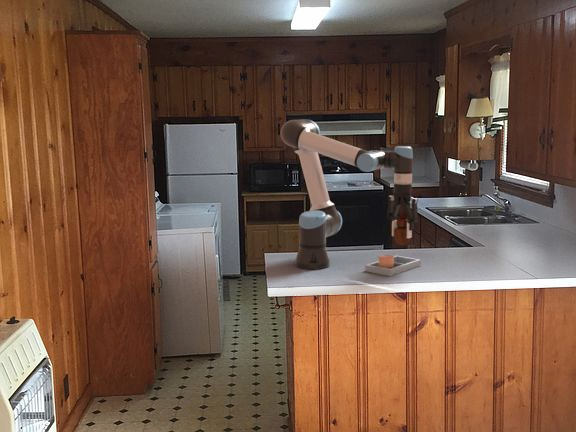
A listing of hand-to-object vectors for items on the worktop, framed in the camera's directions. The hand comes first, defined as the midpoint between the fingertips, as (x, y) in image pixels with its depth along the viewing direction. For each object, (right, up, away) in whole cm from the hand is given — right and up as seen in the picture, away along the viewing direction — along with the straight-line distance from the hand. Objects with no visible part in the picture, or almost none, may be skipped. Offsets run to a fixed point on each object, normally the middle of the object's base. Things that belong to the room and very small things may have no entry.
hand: (401, 236), depth 275 cm
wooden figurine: (0, -4, +1) cm, 4 cm away
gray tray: (-4, -14, -2) cm, 15 cm away
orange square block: (-8, -14, -6) cm, 17 cm away
